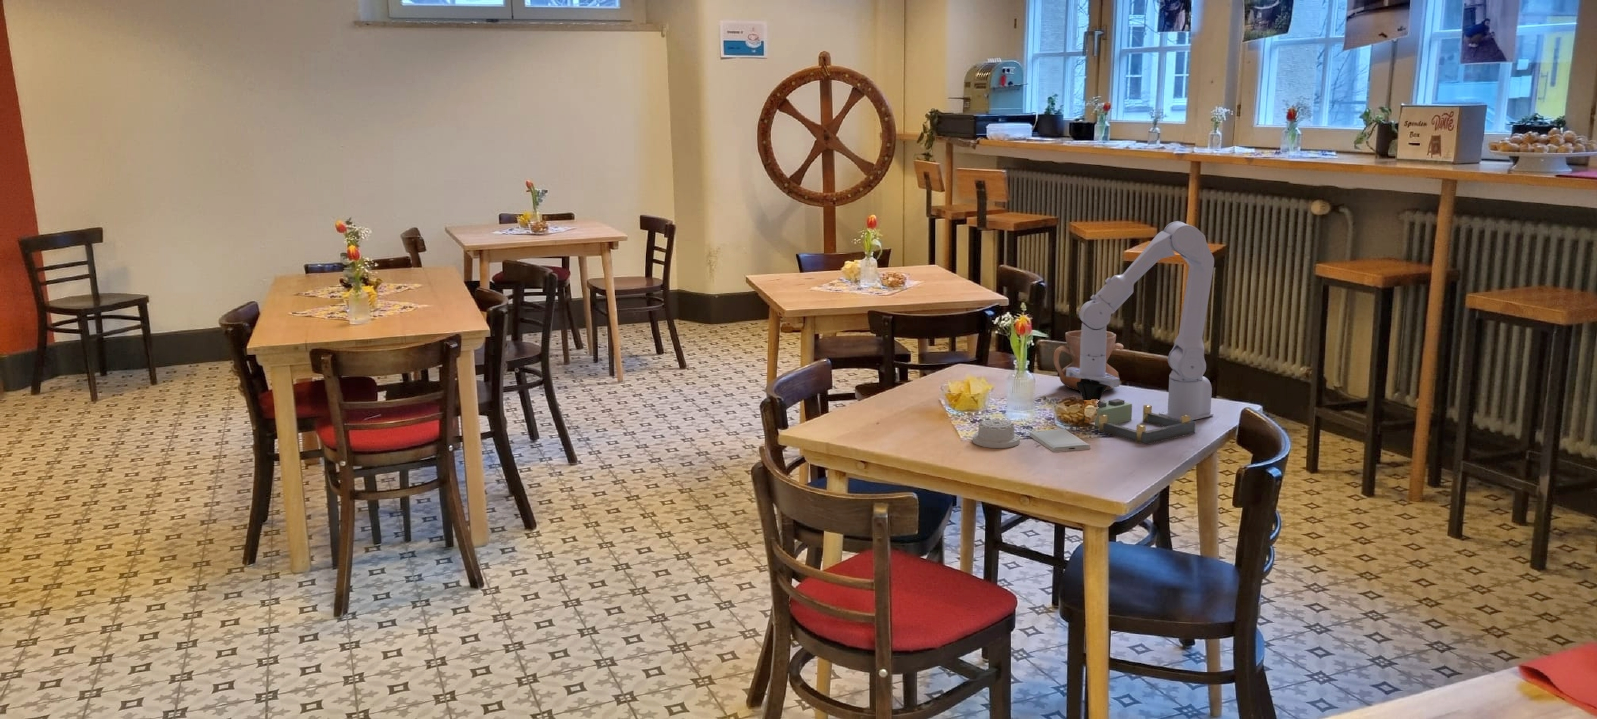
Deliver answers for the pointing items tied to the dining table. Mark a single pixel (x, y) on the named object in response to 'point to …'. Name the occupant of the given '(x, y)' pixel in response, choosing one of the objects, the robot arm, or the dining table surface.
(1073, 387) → the ceramic jug
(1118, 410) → the green block
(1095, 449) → the dining table surface
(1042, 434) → the hard drive
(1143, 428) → the tray
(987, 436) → the gray cake
